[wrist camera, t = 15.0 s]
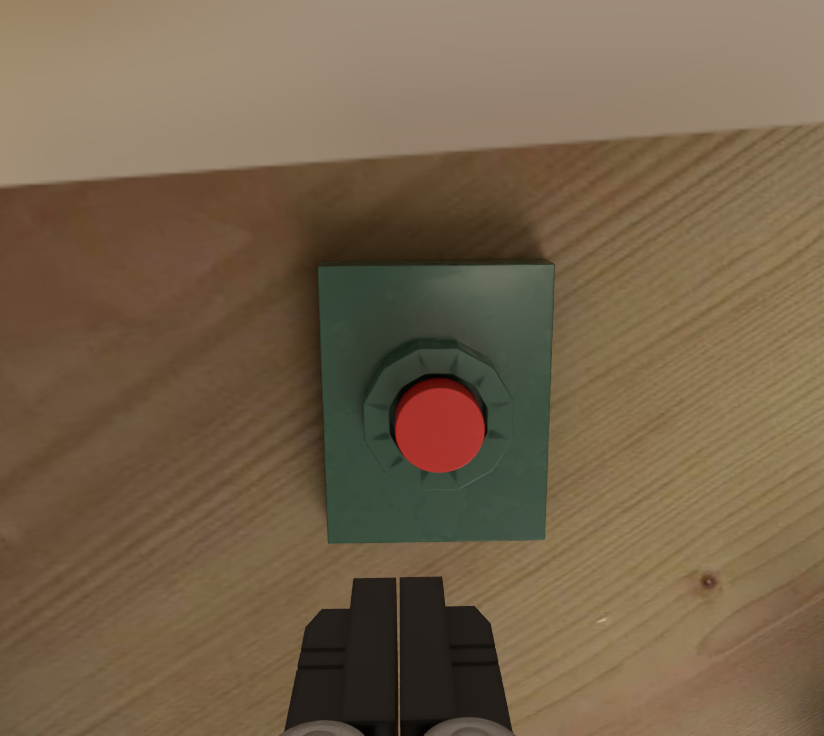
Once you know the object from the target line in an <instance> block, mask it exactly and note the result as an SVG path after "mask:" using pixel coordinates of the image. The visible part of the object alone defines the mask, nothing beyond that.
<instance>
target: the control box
mask: <svg viewBox="0 0 824 736" xmlns="http://www.w3.org/2000/svg"><path fill="white" fill-rule="evenodd" d="M317 271H318V297H319V324H320V350H321V376H322V402H323V428H324V455H325V481H326V507H327V533H328V543H329V544H333V543H395V542H456V541H518V540H545V522H546V495H547V467H548V440H549V413H550V385H551V358H552V330H553V303H554V275H555V264H554V263H552V262H550V261H548V260H547V259H476V260H381V261H322V262H321V263H320V264H319V266H318V267H317ZM431 378H446V379H451V380H454V381H456V382H458V383H460V384H462V385H464V386H465V387H466V388H467V389H469V390H470V392H471V393H472V394H473V395H474V397H475V398H476V400H477V402H478V404H479V407H480V410H481V413H482V416H483V419H484V424H485V434H484V440H483V443H482V446H481V448H480V449H479V451H478V453H477V454H476V456H475V457H474V458H473V459H472V460H471V461H470V462H468V463H467V464H466V465H464V466H463V467H461V468H459V469H456V470H453V471H449V472H442V473H436V472H429V471H425V470H422V469H420V468H418V467H416V466H415V465H413V464H412V463H411V462H409V461H408V460H407V459H406V458H405V457H404V455H403V454H402V453H401V451H400V449H399V447H398V444H397V441H396V436H395V414H396V409H397V406H398V404H399V402H400V400H401V398H402V396H403V395H404V394H405V393H406V392H407V390H409V389H410V388H411V387H412V386H414V385H415V384H417V383H419V382H421V381H424V380H426V379H431Z"/></svg>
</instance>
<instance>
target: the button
mask: <svg viewBox="0 0 824 736" xmlns="http://www.w3.org/2000/svg"><path fill="white" fill-rule="evenodd" d="M484 434H485V424H484V419H483V416H482V413H481V410H480V407H479V404H478V402H477V400H476V398H475V397H474V395H473V394H472V393H471V392H470V390H469V389H467V388H466V387H465V386H464V385H462V384H460V383H458V382H456V381H454V380H451V379H446V378H431V379H426V380H424V381H421V382H419V383H417V384H415V385H414V386H412V387H411V388H410V389H409V390H407V392H406V393H405V394H404V395H403V396H402V398H401V400H400V402H399V404H398V406H397V409H396V414H395V436H396V441H397V444H398V447H399V449H400V451H401V453H402V454H403V455H404V457H405V458H406V459H407V460H408V461H409V462H411V463H412V464H413V465H415V466H416V467H418V468H420V469H422V470H425V471H429V472H436V473H442V472H449V471H453V470H456V469H459V468H461V467H463V466H464V465H466V464H467V463H468V462H470V461H471V460H472V459H473V458H474V457H475V456H476V454H477V453H478V451H479V449H480V448H481V446H482V443H483V440H484Z"/></svg>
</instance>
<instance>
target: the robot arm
mask: <svg viewBox="0 0 824 736" xmlns="http://www.w3.org/2000/svg"><path fill="white" fill-rule="evenodd" d="M279 736H398V648H397V596H396V578H354V579H353V587H352V596H351V605H350V609H322V610H321V611H320V612H319V613H318V614H317V615H316V616H315V617H314V619H313V620H312V621H311V622H310V623H309V624H308V625H307V626H306V628H305V632H304V637H303V642H302V647H301V653H300V657H299V662H298V670H297V672H296V677H295V681H294V686H293V691H292V696H291V701H290V706H289V711H288V716H287V721H286V726H285V730H284V732H283V733H282V734H281V735H279ZM400 736H515V735H514V734H513V731H512V727H511V722H510V717H509V712H508V707H507V702H506V697H505V692H504V687H503V683H502V678H501V673H500V668H499V666H498V658H497V653H496V648H495V643H494V638H493V633H492V628H491V624H490V622H489V621H488V620H487V619H486V618H485V617H484V616H483V615H482V614H481V613H480V612H479V610H478V609H477V608H476V607H475V606H450V607H445V599H444V589H443V580H442V577H400Z"/></svg>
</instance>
